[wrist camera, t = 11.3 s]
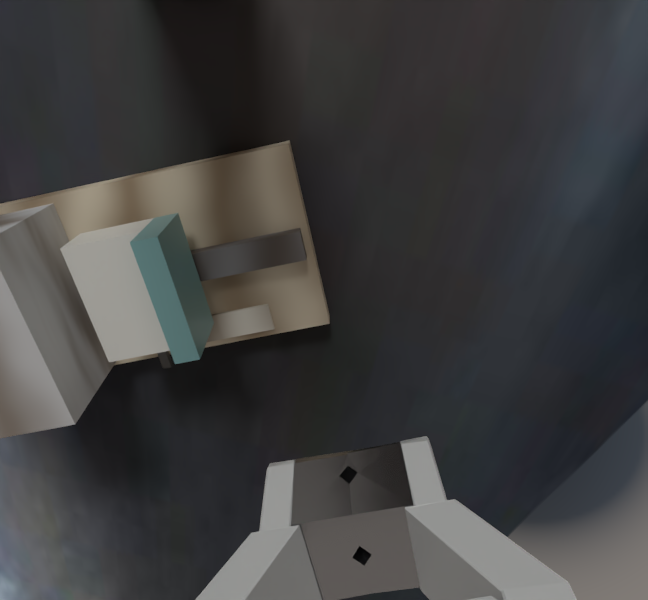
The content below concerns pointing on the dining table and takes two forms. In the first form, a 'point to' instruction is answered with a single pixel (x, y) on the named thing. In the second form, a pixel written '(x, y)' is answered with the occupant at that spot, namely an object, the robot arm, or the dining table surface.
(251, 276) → the frame
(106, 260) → the block with teal panel
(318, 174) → the dining table surface
